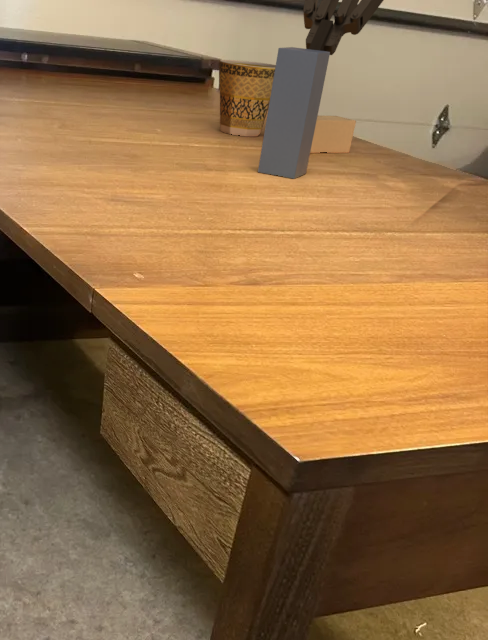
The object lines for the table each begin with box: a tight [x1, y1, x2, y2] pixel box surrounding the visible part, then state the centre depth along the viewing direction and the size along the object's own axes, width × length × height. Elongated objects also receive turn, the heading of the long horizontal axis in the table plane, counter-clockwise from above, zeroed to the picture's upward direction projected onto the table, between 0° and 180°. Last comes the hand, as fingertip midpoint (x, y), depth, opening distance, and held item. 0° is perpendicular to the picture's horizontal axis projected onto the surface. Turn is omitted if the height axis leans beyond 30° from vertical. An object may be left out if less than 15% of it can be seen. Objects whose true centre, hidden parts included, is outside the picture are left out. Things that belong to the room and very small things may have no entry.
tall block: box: [310, 115, 357, 154], centre depth 125 cm, size 4×4×12 cm
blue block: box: [257, 46, 331, 180], centre depth 103 cm, size 5×5×14 cm
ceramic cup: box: [218, 59, 276, 137], centre depth 133 cm, size 13×10×10 cm
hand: (309, 70), depth 103 cm, fingers closed
